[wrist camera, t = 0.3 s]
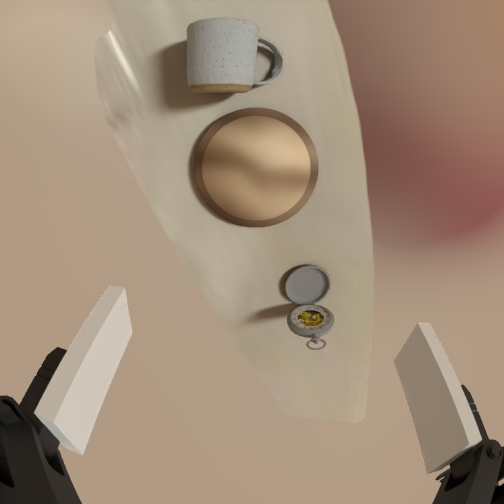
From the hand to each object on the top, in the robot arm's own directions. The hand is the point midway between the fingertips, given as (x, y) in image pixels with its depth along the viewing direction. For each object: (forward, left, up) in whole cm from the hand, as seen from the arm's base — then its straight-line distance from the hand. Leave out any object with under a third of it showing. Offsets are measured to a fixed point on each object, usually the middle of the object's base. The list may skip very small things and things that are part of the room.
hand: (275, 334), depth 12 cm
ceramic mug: (-16, -3, -27) cm, 31 cm away
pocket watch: (+15, +7, -27) cm, 32 cm away
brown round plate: (-2, -1, -27) cm, 27 cm away
